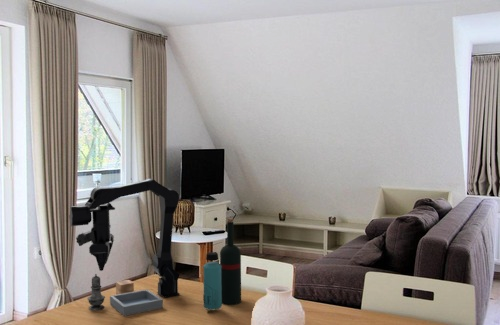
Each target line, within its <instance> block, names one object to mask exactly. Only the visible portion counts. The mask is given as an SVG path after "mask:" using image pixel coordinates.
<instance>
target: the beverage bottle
mask: <svg viewBox="0 0 500 325" xmlns="http://www.w3.org/2000/svg"><path fill="white" fill-rule="evenodd" d="M205 260H206V261H207V262H206V263H205V264H204V265H203V266H202V267H203V268H202V269H203V275H202V276H203V277H202V279H203V282H202V284H203V295H202V300H203V308H204V309H205V310H206V309H207V310H219V309H221V308H222V306H223V304H222V284H221V267H222V266H221V265H220V262H219V261H218V260H219V254H218V252H215V251H213V252H207V253H206V257H205Z"/></svg>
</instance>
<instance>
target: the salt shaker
mask: <svg viewBox="0 0 500 325" xmlns="http://www.w3.org/2000/svg"><path fill="white" fill-rule="evenodd" d="M102 287H103V286H102V285H101V277H100V276H98V274H97V273H95V274H94V276H92V278H91V286H90V289H91V294H90V296H88V297H87V301H88V303H89V305H90V306H89V307H88V310H90V311H101V310H103V309H105V306H104V305H103V303H104V301H105V298H106V296H105V295H103V294H102V292H101V290H102V289H101V288H102Z"/></svg>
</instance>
